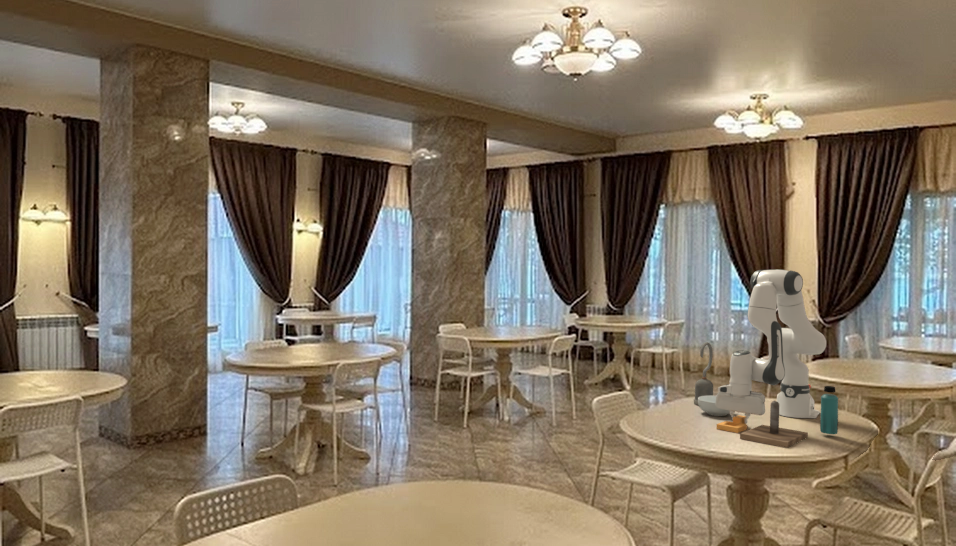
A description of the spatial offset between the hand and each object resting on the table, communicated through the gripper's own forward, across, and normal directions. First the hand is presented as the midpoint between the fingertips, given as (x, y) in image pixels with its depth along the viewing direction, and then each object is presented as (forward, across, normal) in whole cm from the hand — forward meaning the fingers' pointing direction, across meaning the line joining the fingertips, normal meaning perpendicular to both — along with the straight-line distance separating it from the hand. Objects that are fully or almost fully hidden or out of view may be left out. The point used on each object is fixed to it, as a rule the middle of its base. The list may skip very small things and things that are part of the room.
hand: (739, 422), depth 301 cm
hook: (+2, +31, -32) cm, 45 cm away
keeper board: (+2, -18, +10) cm, 20 cm away
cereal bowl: (+2, +17, -16) cm, 23 cm away
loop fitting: (+2, 0, +4) cm, 5 cm away
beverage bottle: (+2, -32, -10) cm, 34 cm away
